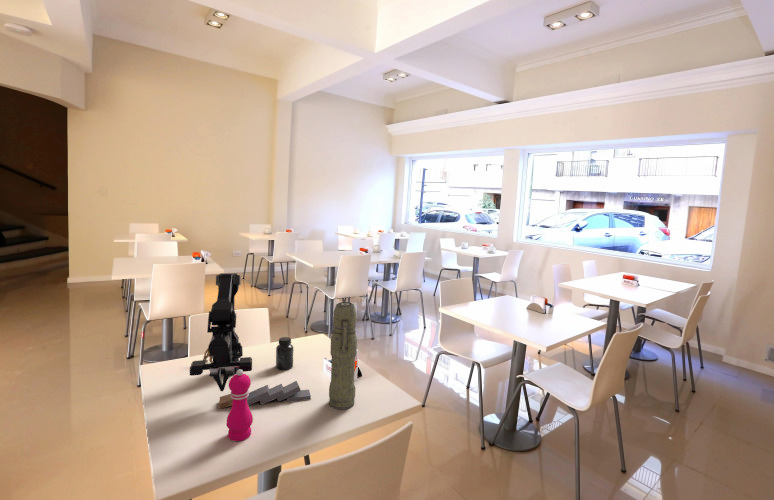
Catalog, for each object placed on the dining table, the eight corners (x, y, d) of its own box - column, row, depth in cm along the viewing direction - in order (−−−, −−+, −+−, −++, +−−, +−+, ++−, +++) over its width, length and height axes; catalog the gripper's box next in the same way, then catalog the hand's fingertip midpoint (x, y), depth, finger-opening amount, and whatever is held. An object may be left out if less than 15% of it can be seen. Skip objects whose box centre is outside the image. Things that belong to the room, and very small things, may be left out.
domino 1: (218, 404, 133) (244, 396, 135) (220, 396, 138) (244, 389, 140) (220, 409, 133) (245, 401, 135) (221, 401, 138) (245, 394, 140)
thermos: (351, 393, 148) (355, 299, 143) (357, 410, 136) (361, 308, 132) (327, 395, 145) (329, 299, 141) (330, 412, 134) (334, 308, 130)
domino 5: (287, 398, 140) (310, 395, 142) (286, 391, 144) (309, 389, 147) (287, 403, 140) (310, 400, 142) (286, 396, 145) (308, 394, 147)
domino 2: (244, 401, 135) (267, 391, 137) (244, 394, 140) (267, 384, 142) (246, 406, 136) (269, 395, 137) (246, 399, 140) (269, 389, 142)
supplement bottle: (285, 362, 173) (285, 334, 171) (296, 366, 169) (297, 338, 167) (272, 367, 167) (272, 339, 166) (283, 372, 163) (283, 343, 162)
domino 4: (276, 397, 139) (299, 386, 141) (274, 391, 143) (296, 380, 146) (278, 401, 139) (300, 390, 142) (276, 395, 144) (298, 384, 146)
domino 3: (259, 400, 137) (282, 390, 139) (259, 393, 141) (281, 383, 143) (261, 404, 137) (284, 394, 139) (261, 397, 142) (283, 388, 144)
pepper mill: (230, 428, 123) (230, 364, 120) (255, 428, 123) (255, 364, 121) (223, 442, 115) (222, 374, 113) (249, 442, 116) (249, 375, 114)
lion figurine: (236, 356, 176) (236, 336, 175) (239, 361, 172) (239, 340, 171) (199, 362, 169) (199, 341, 168) (201, 367, 164) (200, 345, 163)
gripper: (252, 335, 144) (252, 377, 146) (194, 338, 138) (194, 382, 140) (252, 346, 133) (251, 392, 135) (188, 350, 128) (189, 398, 129)
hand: (222, 390), depth 135 cm, fingers closed
